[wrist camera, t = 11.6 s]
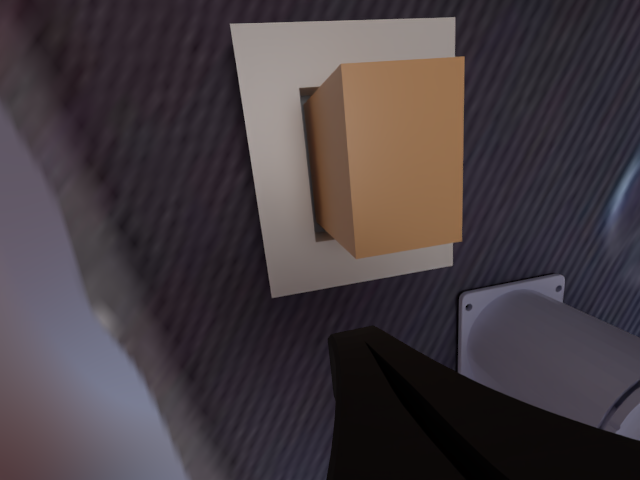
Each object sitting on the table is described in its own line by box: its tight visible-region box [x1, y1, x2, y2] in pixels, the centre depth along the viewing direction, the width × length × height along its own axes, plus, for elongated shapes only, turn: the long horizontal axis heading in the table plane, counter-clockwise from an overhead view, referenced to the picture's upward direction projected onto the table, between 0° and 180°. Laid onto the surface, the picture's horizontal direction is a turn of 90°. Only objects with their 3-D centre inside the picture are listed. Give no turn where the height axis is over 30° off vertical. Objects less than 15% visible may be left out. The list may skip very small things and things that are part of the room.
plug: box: [303, 57, 464, 259], centre depth 14 cm, size 6×4×7 cm, turn 6°
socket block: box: [230, 17, 455, 298], centre depth 16 cm, size 12×10×2 cm
